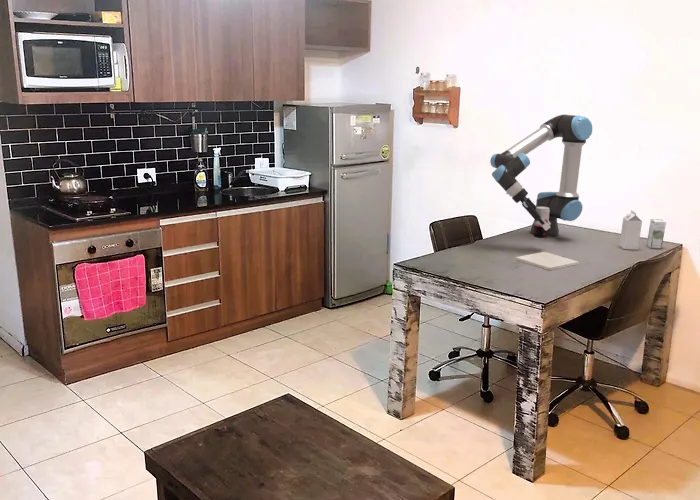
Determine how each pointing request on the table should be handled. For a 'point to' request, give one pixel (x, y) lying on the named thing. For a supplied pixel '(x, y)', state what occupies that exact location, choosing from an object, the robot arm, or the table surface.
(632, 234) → the milk carton
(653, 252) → the table surface
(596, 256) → the table surface
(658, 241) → the syrup box
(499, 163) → the robot arm
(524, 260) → the ceramic tile
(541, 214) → the beverage can
